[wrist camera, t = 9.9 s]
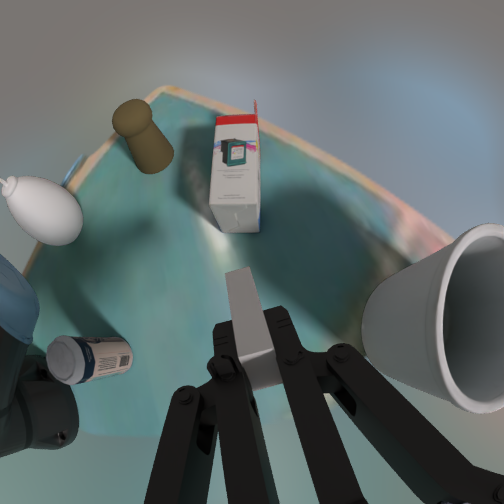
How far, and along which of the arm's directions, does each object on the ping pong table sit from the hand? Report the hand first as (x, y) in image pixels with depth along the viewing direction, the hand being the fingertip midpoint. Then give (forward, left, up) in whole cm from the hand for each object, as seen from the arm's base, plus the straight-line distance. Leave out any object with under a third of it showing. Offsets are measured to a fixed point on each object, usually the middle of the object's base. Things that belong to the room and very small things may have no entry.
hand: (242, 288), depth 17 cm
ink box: (+1, +9, -11) cm, 14 cm away
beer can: (-18, -2, -16) cm, 24 cm away
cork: (-9, +24, -16) cm, 30 cm away
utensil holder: (+18, -8, -16) cm, 25 cm away
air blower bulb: (-23, +17, -16) cm, 33 cm away
